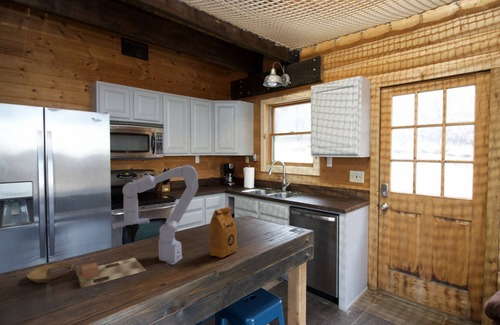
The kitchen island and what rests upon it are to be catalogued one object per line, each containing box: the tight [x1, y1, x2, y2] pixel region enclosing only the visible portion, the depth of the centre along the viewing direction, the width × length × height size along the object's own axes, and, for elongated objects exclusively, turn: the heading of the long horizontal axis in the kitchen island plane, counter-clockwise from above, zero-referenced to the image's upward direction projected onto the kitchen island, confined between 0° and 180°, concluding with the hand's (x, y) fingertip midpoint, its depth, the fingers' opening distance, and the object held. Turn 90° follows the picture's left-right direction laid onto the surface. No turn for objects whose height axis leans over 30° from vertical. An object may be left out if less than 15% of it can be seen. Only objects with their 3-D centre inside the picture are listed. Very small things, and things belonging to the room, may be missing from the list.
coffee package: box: [208, 206, 238, 258], centre depth 128 cm, size 10×12×22 cm
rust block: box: [80, 261, 99, 280], centre depth 104 cm, size 5×5×4 cm
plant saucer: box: [26, 262, 74, 284], centre depth 107 cm, size 15×15×3 cm
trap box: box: [75, 257, 147, 289], centre depth 108 cm, size 22×17×3 cm
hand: (131, 242), depth 117 cm, fingers closed
